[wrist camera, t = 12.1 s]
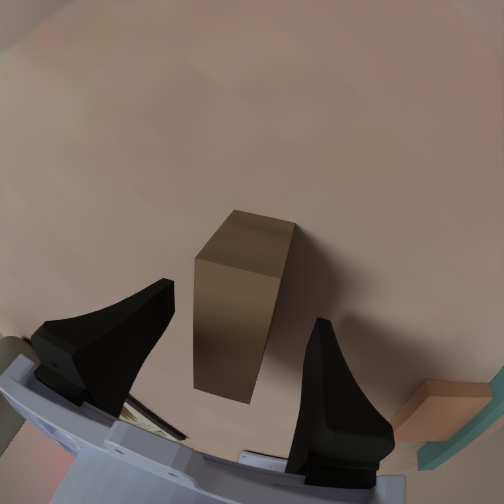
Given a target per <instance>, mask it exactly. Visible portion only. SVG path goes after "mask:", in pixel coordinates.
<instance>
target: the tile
mask: <svg viewBox="0 0 504 504" xmlns="http://www.w3.org/2000/svg"><path fill="white" fill-rule="evenodd" d="M493 398H494V397H493V394H492V391H491V388H490V385H489V383H470V382H453V381H440V380H428V379H426V380H425V381H424V382H423V384H422V385H421V386H420V387H419V388H418V390H417V391H416V392H415V393H414V394H413V396H412V397H411V398H410V399H409V400H408V401H407V403H406V404H405V405H404V406H403V407H402V408H401V409H400V410H399V411H398V413H397V414H396V415H395V416H394V417H393V418H392V419H391V420H390V421H389V423H390V424H391V425H392V427H393V432H394V439H395V441H411V442H423V441H447V440H448V439H450V438H451V437H452V436H453V435H454V434H456V433H457V432H458V431H459V430H460V429H461V428H462V427H464V426H465V425H466V424H467V423H468V422H469V421H470V420H471V419H472V418H473V417H474V416H476V415H477V414H478V413H479V412H480V411H481V410H482V409H483V408H484V407H485V406H486V405H487V404H488V403H489V402H490V401H491V400H492V399H493Z"/></svg>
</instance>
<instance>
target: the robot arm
mask: <svg viewBox="0 0 504 504" xmlns="http://www.w3.org/2000/svg"><path fill="white" fill-rule="evenodd" d="M174 313H175V298H174V281H172V280H169V279H165V278H162V279H161V280H159V281H157V282H155V283H153V284H152V285H150V286H148V287H146V288H145V289H143V290H141V291H139V292H138V293H136V294H134V295H132V296H130V297H128V298H126V299H124V300H122V301H120V302H118V303H116V304H114V305H111V306H109V307H106V308H104V309H101V310H98V311H95V312H92V313H89V314H85V315H82V316H78V317H73V318H68V319H62V320H53V321H45V322H44V323H43V324H42V325H41V326H40V327H39V328H38V330H37V331H36V332H35V333H34V334H33V335H32V336H31V343H32V346H33V348H34V350H35V352H36V354H37V356H38V358H39V360H40V362H41V364H40V365H39V367H38V366H37V365H36V364H35V363H34V362H33V361H31V360H30V359H29V358H27V357H26V356H24V355H23V354H20V355H19V356H18V357H17V358H16V359H15V360H14V362H13V363H12V364H11V365H10V366H9V367H8V368H7V370H6V371H5V372H4V373H3V374H2V375H1V376H0V391H1V393H2V394H3V395H4V396H5V398H6V399H7V400H8V401H9V403H10V404H11V405H12V406H13V408H14V409H15V410H16V411H17V412H18V413H20V414H21V415H22V416H23V417H24V418H25V419H27V420H28V421H29V422H30V423H31V424H33V425H34V426H35V427H36V428H38V429H39V430H40V431H41V432H43V433H44V434H45V435H46V436H48V437H49V438H50V439H52V440H53V441H54V442H56V443H57V444H58V445H60V446H61V447H62V448H64V449H65V450H66V451H68V452H69V453H71V454H72V455H74V456H75V457H76V459H75V460H74V462H73V463H72V465H71V467H70V468H69V470H68V472H67V474H66V475H65V477H64V479H63V480H62V482H61V484H60V485H59V487H58V489H57V491H56V492H55V494H54V496H53V498H52V499H51V501H50V503H49V504H406V476H405V475H381V476H377V477H376V471H377V470H379V465H380V461H381V460H382V459H384V458H385V457H386V456H387V455H389V454H390V453H391V452H392V451H393V450H394V447H395V439H394V432H393V427H392V425H391V424H390V423H389V422H388V421H387V420H386V419H385V418H384V417H383V416H382V415H381V414H380V413H379V412H378V411H377V410H376V409H375V408H374V406H373V405H372V404H371V403H370V401H369V400H368V399H367V397H366V396H365V395H364V393H363V392H362V391H361V389H360V387H359V386H358V384H357V383H356V381H355V379H354V377H353V376H352V374H351V372H350V370H349V368H348V366H347V364H346V362H345V359H344V357H343V355H342V352H341V350H340V347H339V345H338V342H337V339H336V336H335V333H334V330H333V327H332V323H331V321H330V320H327V319H322V318H317V320H316V323H315V326H314V329H313V331H312V334H311V337H310V339H309V342H308V344H307V347H306V353H305V358H304V364H303V376H302V390H301V403H300V410H299V415H298V420H297V425H296V429H295V433H294V438H293V442H292V446H291V450H290V453H289V457H288V460H285V459H279V458H274V457H269V456H264V455H260V454H255V453H251V452H247V451H242V452H241V455H240V458H239V461H238V463H237V462H233V461H229V460H225V459H222V458H218V457H215V456H212V455H208V454H205V453H202V452H199V451H196V450H194V449H192V448H190V447H188V446H185V445H183V444H181V443H178V442H175V441H172V440H170V439H167V438H165V437H162V436H160V435H157V434H155V433H152V432H150V431H147V430H145V429H143V428H140V427H138V426H136V425H134V424H132V423H129V422H126V421H123V420H119V417H120V414H121V411H122V408H123V406H124V403H125V401H126V398H127V396H128V394H129V391H130V389H131V387H132V385H133V383H134V380H135V378H136V376H137V374H138V372H139V370H140V368H141V366H142V364H143V363H144V361H145V359H146V358H147V356H148V355H149V353H150V352H151V350H152V349H153V347H154V346H155V345H156V343H157V342H158V340H159V339H160V337H161V336H162V334H163V333H164V331H165V330H166V328H167V327H168V325H169V323H170V321H171V319H172V317H173V315H174Z"/></svg>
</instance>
